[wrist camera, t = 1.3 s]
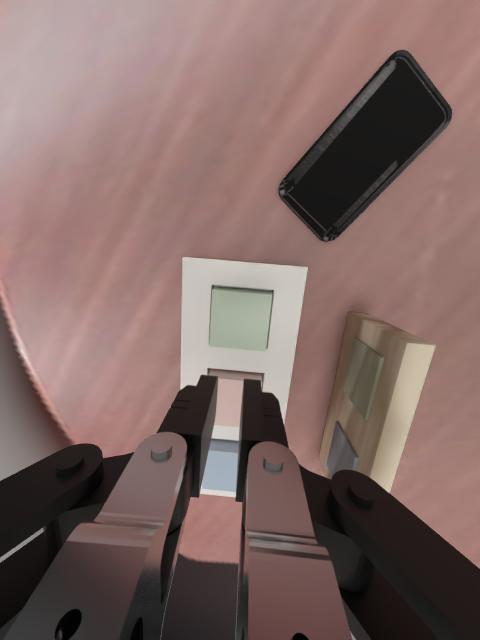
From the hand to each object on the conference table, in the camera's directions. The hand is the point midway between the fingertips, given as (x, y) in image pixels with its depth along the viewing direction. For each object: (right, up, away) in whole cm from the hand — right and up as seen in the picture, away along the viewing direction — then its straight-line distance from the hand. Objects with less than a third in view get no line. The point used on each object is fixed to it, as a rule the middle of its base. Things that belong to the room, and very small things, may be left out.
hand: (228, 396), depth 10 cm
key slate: (-1, -14, +19) cm, 24 cm away
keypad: (0, -4, +19) cm, 19 cm away
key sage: (+1, +4, +15) cm, 15 cm away
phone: (+12, +19, +13) cm, 26 cm away
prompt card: (+13, -5, +19) cm, 23 cm away
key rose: (0, -5, +17) cm, 18 cm away
